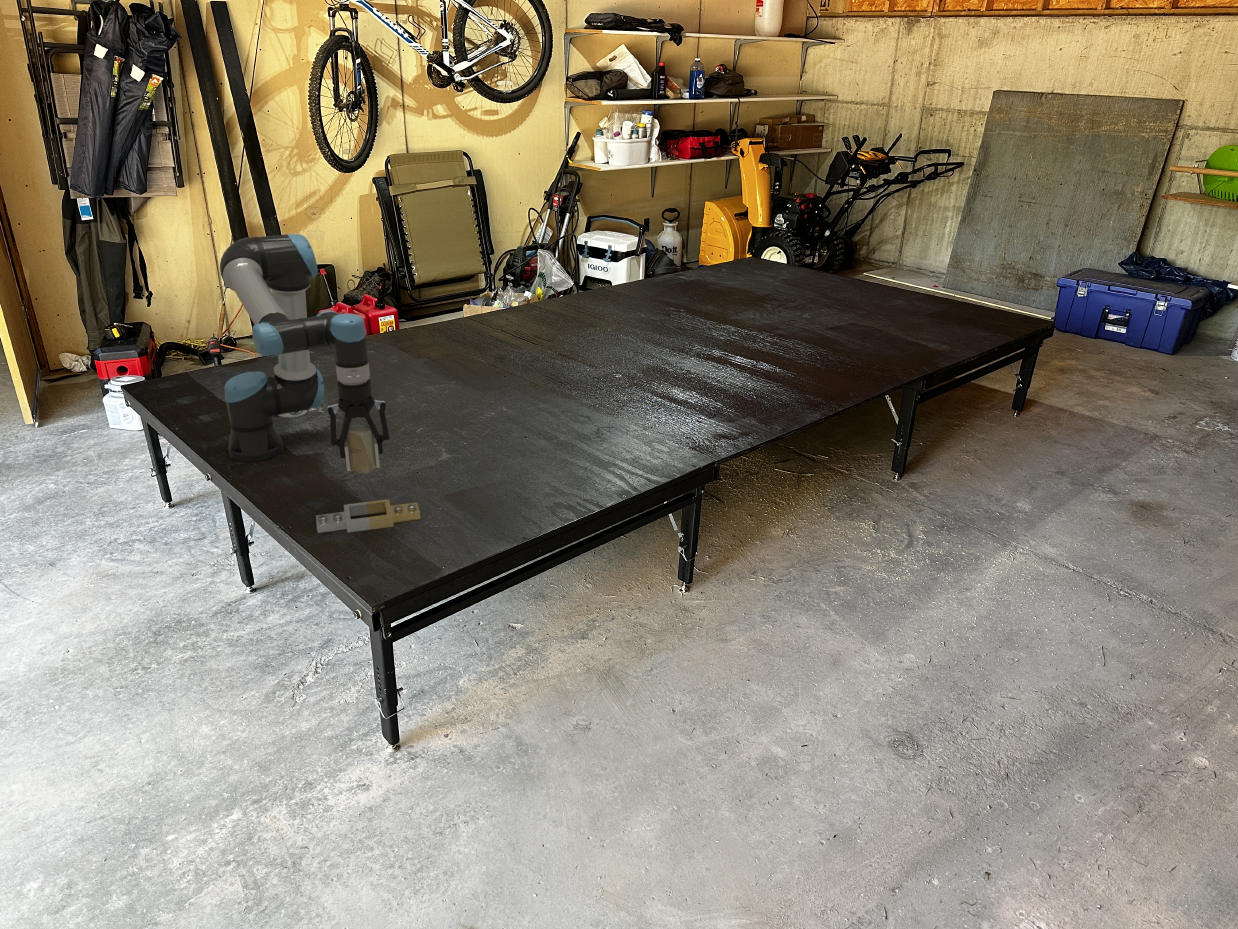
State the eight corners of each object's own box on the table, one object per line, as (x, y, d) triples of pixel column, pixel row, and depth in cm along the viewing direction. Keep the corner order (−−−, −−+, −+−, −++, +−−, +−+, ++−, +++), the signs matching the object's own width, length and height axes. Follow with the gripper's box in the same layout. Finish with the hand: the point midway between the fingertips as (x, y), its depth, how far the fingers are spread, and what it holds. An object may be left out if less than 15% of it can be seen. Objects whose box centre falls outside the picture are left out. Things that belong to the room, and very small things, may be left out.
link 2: (370, 529, 211) (369, 519, 210) (367, 512, 219) (366, 502, 218) (421, 522, 216) (420, 512, 214) (416, 505, 223) (415, 495, 222)
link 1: (317, 536, 207) (316, 526, 206) (316, 518, 215) (315, 508, 214) (370, 529, 211) (369, 519, 210) (367, 512, 219) (366, 502, 218)
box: (349, 470, 208) (344, 429, 203) (360, 463, 211) (355, 423, 206) (367, 474, 206) (362, 433, 201) (377, 467, 210) (373, 426, 205)
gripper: (311, 389, 192) (323, 478, 202) (397, 382, 198) (404, 469, 208) (310, 378, 199) (322, 465, 209) (393, 371, 205) (400, 456, 215)
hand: (363, 467), depth 209 cm, fingers closed on box, 6 cm apart
